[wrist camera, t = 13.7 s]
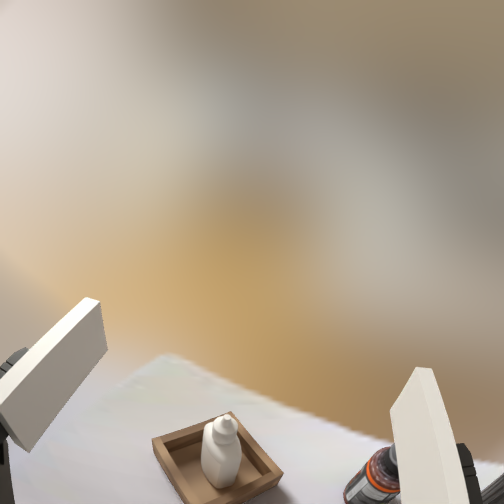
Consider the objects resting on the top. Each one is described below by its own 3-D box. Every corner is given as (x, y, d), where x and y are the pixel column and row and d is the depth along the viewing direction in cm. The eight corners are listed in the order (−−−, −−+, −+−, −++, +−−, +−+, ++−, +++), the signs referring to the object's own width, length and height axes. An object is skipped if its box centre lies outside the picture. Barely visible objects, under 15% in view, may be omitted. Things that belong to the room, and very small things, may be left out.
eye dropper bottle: (194, 485, 29) (198, 436, 24) (202, 449, 34) (209, 391, 29) (232, 492, 29) (248, 444, 24) (237, 455, 34) (253, 399, 29)
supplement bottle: (362, 471, 33) (401, 424, 28) (391, 496, 28) (438, 453, 24) (332, 495, 29) (371, 452, 25) (363, 523, 25) (411, 486, 21)
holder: (277, 484, 31) (283, 473, 29) (197, 522, 24) (198, 515, 23) (228, 425, 38) (231, 411, 37) (153, 452, 32) (151, 438, 31)
